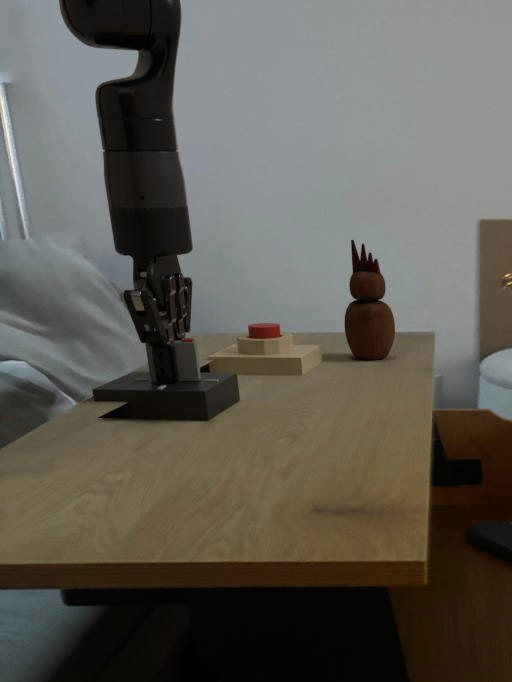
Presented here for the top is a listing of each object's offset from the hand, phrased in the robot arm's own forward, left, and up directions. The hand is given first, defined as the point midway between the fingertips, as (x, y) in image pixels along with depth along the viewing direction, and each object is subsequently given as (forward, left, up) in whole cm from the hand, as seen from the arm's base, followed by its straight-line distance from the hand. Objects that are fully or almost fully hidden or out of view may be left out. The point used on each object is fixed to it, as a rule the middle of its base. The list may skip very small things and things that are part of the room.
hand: (172, 379), depth 105 cm
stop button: (+2, +25, 0) cm, 25 cm away
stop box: (+2, +25, -3) cm, 25 cm away
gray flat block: (0, 0, 0) cm, 0 cm away
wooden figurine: (+14, +33, -3) cm, 36 cm away
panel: (-1, 0, -3) cm, 3 cm away
